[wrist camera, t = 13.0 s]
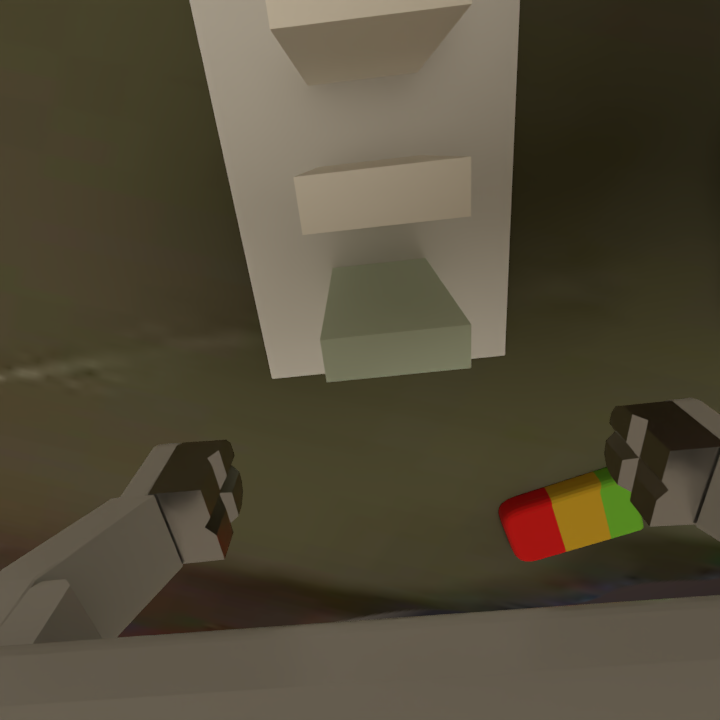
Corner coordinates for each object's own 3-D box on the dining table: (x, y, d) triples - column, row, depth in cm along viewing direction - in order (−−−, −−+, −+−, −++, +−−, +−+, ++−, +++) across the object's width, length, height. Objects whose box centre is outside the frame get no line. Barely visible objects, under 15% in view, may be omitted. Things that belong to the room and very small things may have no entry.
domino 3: (426, 286, 24) (470, 367, 15) (336, 296, 24) (326, 382, 15) (425, 257, 23) (471, 324, 14) (332, 267, 23) (320, 340, 14)
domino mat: (103, -408, 14) (97, -423, 14) (535, -478, 14) (541, -495, 13) (273, 375, 27) (272, 378, 26) (502, 352, 26) (504, 355, 26)
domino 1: (302, 43, 19) (256, -55, 10) (415, 29, 19) (472, -85, 10) (307, 85, 20) (270, 29, 11) (417, 72, 20) (472, 3, 11)
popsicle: (491, 498, 32) (499, 517, 30) (706, 429, 29) (727, 446, 28) (511, 548, 34) (519, 568, 32) (712, 487, 32) (732, 506, 30)
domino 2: (318, 166, 21) (293, 177, 12) (420, 154, 21) (471, 156, 12) (323, 201, 22) (302, 234, 13) (422, 190, 22) (471, 216, 13)
